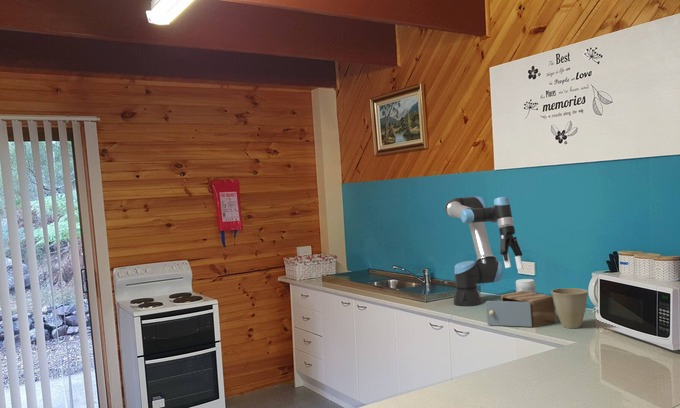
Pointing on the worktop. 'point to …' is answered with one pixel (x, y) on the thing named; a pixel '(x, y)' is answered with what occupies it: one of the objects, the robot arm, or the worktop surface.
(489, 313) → the cabinet door
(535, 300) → the cabinet
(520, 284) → the supplement tub
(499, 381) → the worktop surface
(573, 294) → the plant pot
